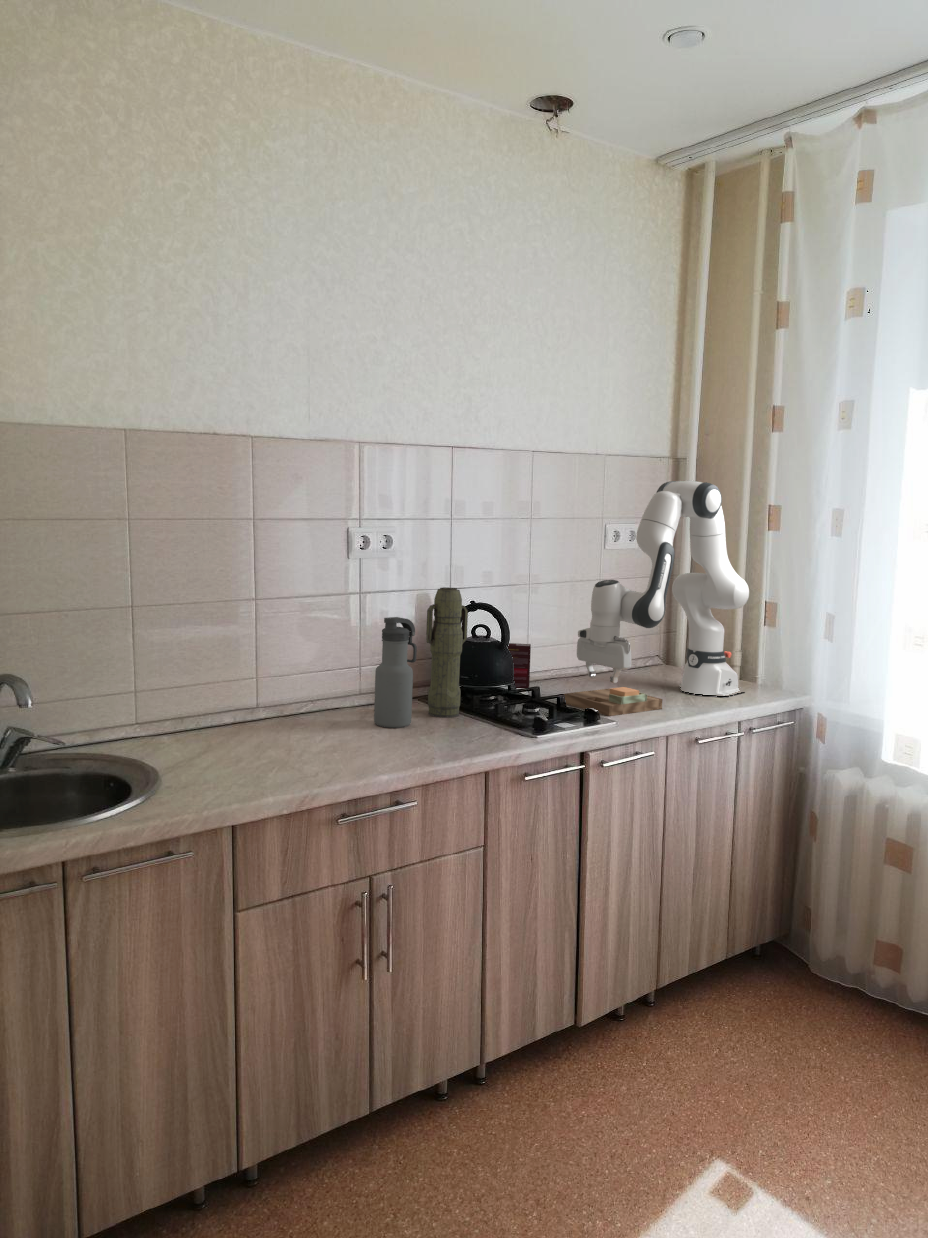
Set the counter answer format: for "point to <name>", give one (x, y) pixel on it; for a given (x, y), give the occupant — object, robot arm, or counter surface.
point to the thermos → (446, 651)
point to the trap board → (613, 702)
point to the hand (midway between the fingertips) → (602, 679)
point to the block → (623, 691)
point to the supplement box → (521, 663)
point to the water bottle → (395, 675)
